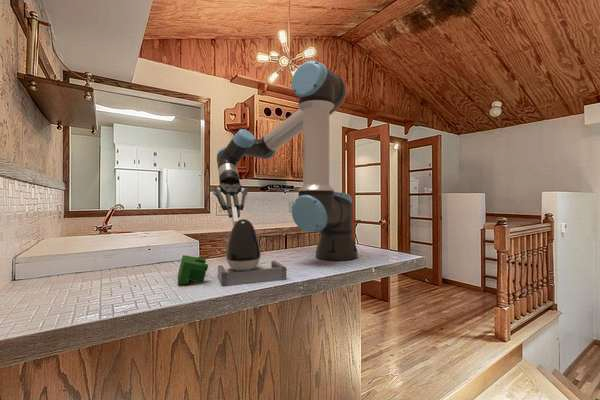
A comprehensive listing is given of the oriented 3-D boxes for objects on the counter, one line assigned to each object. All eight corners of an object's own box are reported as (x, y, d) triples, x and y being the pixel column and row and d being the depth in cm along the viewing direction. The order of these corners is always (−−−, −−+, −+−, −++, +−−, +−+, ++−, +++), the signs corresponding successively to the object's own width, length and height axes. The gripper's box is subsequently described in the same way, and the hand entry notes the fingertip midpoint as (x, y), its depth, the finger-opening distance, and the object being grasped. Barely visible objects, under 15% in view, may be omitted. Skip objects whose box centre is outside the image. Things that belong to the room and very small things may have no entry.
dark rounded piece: (262, 265, 96) (261, 218, 96) (258, 273, 86) (258, 219, 86) (230, 266, 96) (229, 218, 96) (222, 273, 85) (222, 220, 85)
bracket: (275, 271, 88) (275, 260, 88) (286, 279, 78) (286, 267, 78) (217, 276, 82) (217, 265, 82) (222, 286, 73) (222, 273, 73)
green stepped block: (199, 300, 76) (208, 270, 74) (174, 297, 74) (183, 266, 71) (200, 272, 87) (208, 245, 84) (178, 269, 84) (186, 241, 82)
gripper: (244, 185, 122) (253, 230, 106) (211, 184, 117) (215, 231, 101) (247, 170, 117) (256, 215, 101) (212, 169, 112) (216, 216, 96)
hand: (235, 223), depth 101 cm, fingers closed
